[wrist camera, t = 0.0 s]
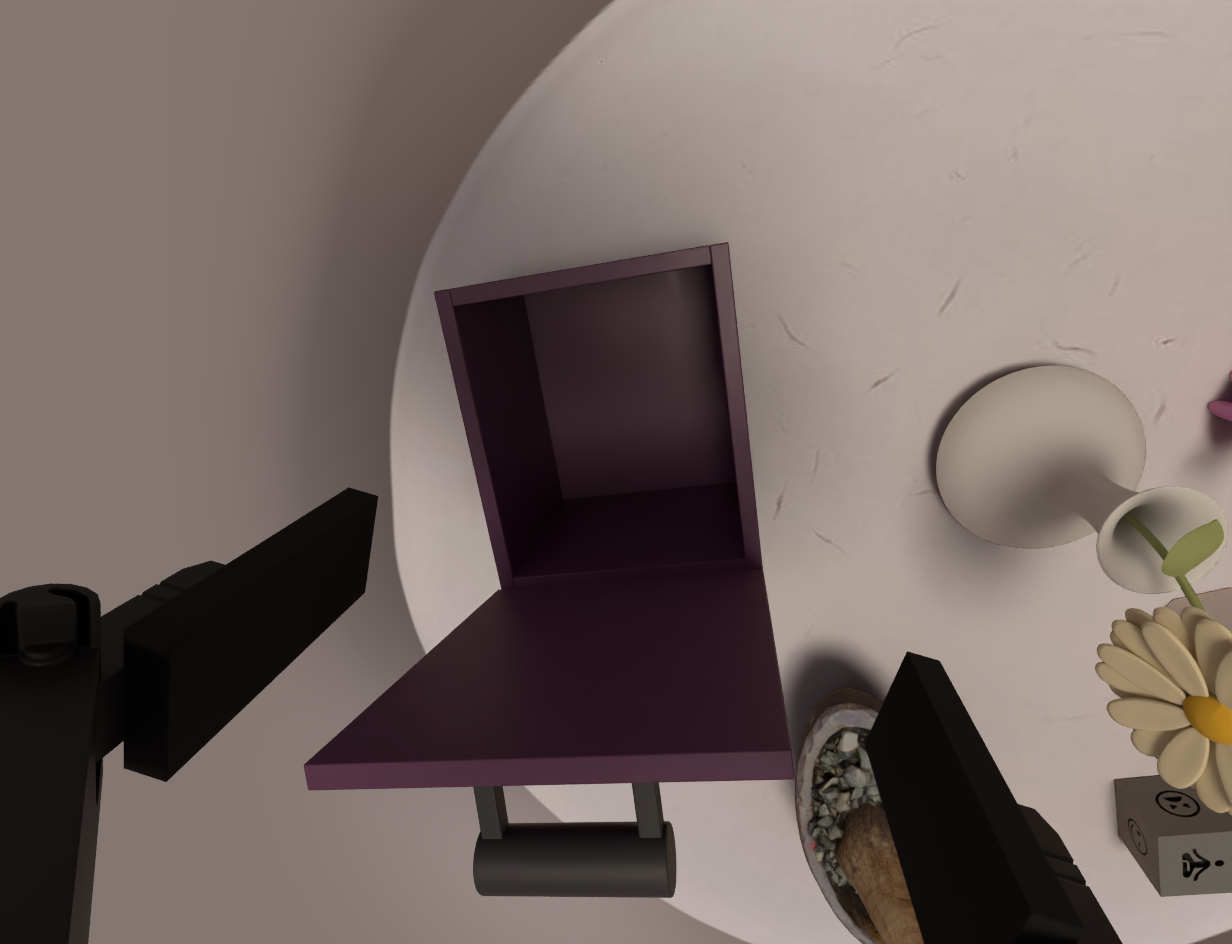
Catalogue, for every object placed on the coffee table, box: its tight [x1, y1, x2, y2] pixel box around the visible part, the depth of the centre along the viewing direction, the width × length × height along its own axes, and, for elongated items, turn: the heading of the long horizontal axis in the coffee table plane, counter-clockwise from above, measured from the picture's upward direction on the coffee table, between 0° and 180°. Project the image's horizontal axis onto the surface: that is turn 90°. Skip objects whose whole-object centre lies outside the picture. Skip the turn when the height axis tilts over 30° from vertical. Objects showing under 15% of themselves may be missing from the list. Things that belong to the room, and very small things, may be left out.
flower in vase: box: [936, 366, 1232, 816], centre depth 31 cm, size 13×11×25 cm
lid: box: [304, 569, 795, 898], centre depth 26 cm, size 16×14×6 cm
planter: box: [795, 687, 924, 944], centre depth 41 cm, size 15×17×20 cm
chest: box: [434, 242, 763, 589], centre depth 38 cm, size 16×14×13 cm
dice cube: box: [1115, 776, 1232, 897], centre depth 46 cm, size 5×5×5 cm
